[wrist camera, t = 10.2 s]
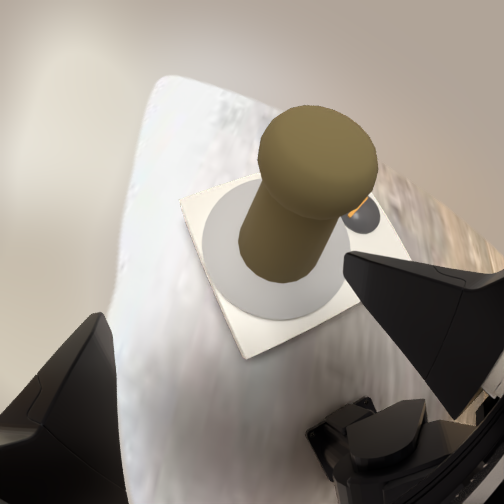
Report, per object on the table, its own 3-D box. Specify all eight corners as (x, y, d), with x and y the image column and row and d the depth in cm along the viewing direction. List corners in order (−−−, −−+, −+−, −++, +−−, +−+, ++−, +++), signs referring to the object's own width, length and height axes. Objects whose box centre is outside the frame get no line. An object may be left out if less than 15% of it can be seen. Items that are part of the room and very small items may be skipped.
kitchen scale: (392, 279, 25) (420, 264, 20) (243, 357, 21) (247, 359, 17) (329, 172, 28) (344, 144, 24) (185, 222, 25) (177, 194, 20)
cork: (268, 191, 21) (299, 72, 11) (334, 235, 20) (412, 138, 10) (220, 250, 19) (216, 136, 9) (293, 300, 18) (371, 234, 8)
